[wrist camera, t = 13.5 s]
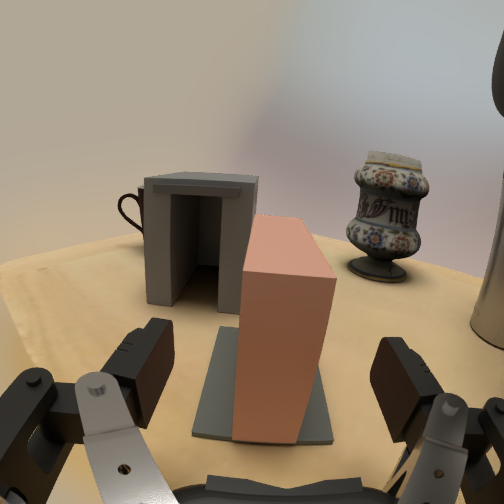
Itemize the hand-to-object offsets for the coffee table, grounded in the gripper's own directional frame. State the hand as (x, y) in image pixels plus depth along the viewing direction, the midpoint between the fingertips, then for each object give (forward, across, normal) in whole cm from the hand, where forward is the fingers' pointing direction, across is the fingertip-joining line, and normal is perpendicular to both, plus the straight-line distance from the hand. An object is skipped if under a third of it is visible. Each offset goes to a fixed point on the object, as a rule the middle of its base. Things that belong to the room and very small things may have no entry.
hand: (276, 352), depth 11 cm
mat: (+7, 0, +8) cm, 11 cm away
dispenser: (+24, +7, +8) cm, 26 cm away
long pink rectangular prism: (+7, 0, +7) cm, 10 cm away
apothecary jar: (+33, -18, +8) cm, 38 cm away
